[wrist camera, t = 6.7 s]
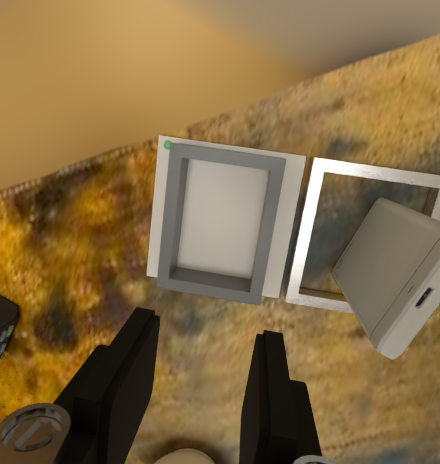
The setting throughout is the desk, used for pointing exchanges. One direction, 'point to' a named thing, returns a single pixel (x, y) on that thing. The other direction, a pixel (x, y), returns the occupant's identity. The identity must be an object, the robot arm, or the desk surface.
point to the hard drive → (392, 274)
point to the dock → (222, 218)
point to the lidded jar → (185, 457)
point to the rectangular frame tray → (435, 207)
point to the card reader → (6, 321)
